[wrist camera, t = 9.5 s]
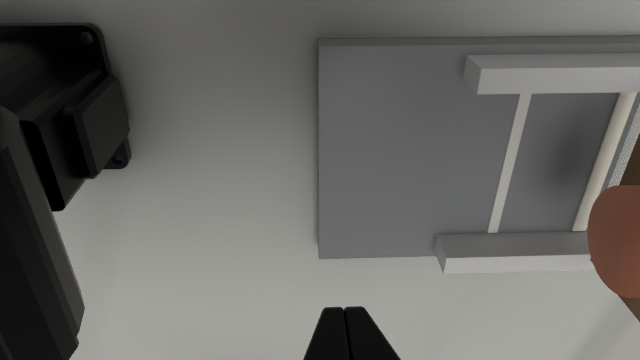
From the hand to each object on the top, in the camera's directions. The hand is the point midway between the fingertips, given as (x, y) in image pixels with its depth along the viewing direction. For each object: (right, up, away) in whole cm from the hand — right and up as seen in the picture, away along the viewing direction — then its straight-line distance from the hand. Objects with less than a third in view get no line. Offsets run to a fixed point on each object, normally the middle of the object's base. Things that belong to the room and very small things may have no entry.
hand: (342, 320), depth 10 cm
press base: (+6, +4, +13) cm, 15 cm away
